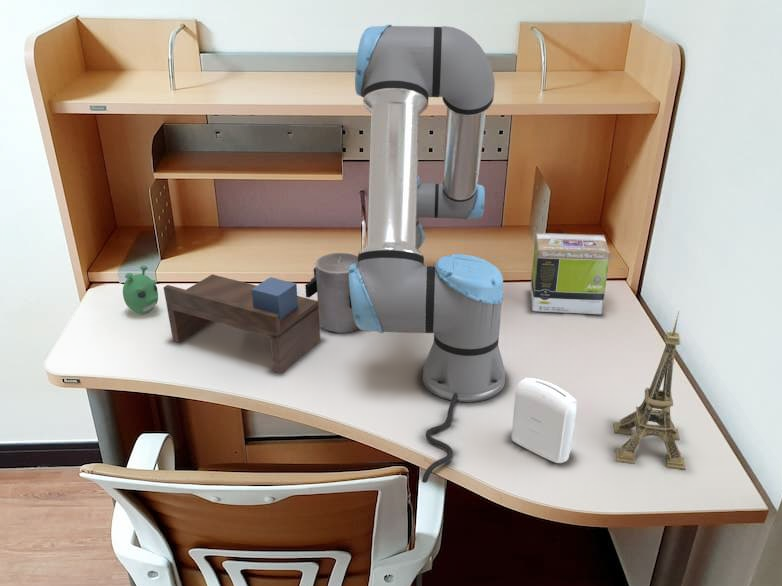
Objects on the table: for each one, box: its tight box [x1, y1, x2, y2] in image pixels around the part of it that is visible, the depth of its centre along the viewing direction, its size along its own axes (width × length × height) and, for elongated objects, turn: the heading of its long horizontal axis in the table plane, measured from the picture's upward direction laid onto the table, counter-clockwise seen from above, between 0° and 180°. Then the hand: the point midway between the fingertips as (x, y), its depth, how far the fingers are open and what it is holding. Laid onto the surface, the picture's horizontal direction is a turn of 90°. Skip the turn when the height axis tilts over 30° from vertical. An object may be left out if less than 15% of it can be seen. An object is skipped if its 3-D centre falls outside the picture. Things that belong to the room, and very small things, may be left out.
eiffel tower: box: [613, 310, 687, 471], centre depth 118 cm, size 11×11×25 cm
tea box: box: [530, 232, 611, 315], centre depth 164 cm, size 15×10×15 cm, turn 84°
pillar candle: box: [314, 252, 360, 334], centre depth 155 cm, size 10×10×15 cm
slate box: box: [252, 276, 298, 320], centre depth 143 cm, size 6×6×5 cm
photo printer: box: [511, 377, 578, 464], centre depth 121 cm, size 10×4×12 cm, turn 47°
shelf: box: [163, 274, 321, 374], centre depth 149 cm, size 26×14×12 cm, turn 63°
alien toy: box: [122, 264, 159, 315], centre depth 159 cm, size 7×8×10 cm
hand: (328, 296), depth 152 cm, fingers closed on pillar candle, 10 cm apart
